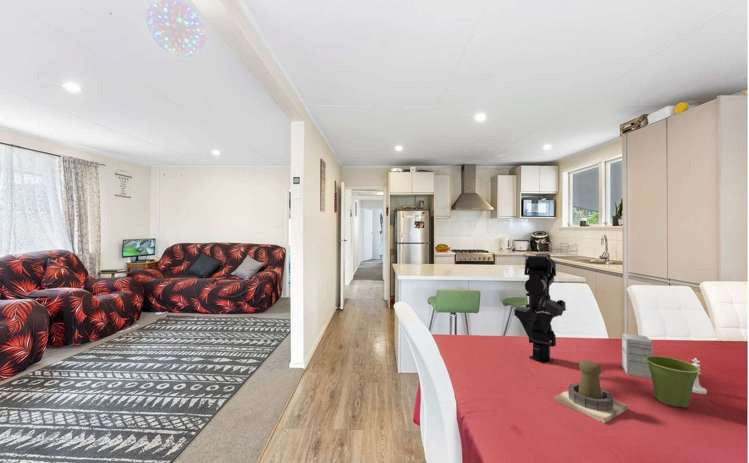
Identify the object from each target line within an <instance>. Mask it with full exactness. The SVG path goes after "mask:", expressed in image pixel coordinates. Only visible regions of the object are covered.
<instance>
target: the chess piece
mask: <svg viewBox="0 0 749 463" xmlns="http://www.w3.org/2000/svg"><path fill="white" fill-rule="evenodd" d="M691 361H692V362H693V363H691V364H693V365H695V366H697V367H698V368H700V369H701V365H700V362H701V361H700V360H698V358H696V357H694V359H691ZM699 375H701V371H700V372H699V373H698V374H697V377H696V379H695V381H694V385H693V389H692V393H695V394H699V395H706V394H708V390H707V389H706V388H705V387H702V385H701V384H700V379H699Z"/></svg>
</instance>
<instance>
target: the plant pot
mask: <svg viewBox="0 0 749 463" xmlns="http://www.w3.org/2000/svg"><path fill="white" fill-rule="evenodd" d="M645 359H646V361H647V362H648V366H649V369H650V372H651V378H652V379H651V378H650V379H651V382H652V387H653V394H654V398H655V399H657V400H658V402H660V403H662V404H665V405H667V406H670V407H675V408H678V407H680V408H681V407H682V408H683V409H684V408H688V407H689V405H690V401H691V397H692V393H693V392H692V389H693V385H694V381H695V379H696V377H697V374H698V373H699V372H700V373H701V370H702V369H701V367H700V368H698V367H697V366H695V365H693V364H692V363H690V362H688V361H684V360H681V359H677V358H672V357H666V356H660V355H653V356H648V357H646V358H645ZM698 375H699V374H698Z"/></svg>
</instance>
